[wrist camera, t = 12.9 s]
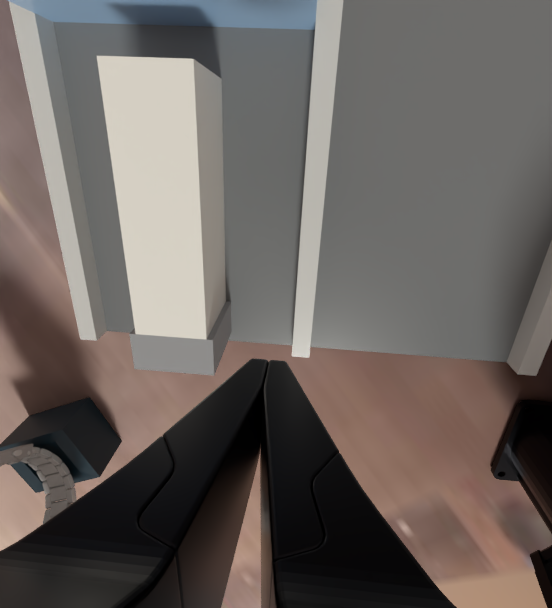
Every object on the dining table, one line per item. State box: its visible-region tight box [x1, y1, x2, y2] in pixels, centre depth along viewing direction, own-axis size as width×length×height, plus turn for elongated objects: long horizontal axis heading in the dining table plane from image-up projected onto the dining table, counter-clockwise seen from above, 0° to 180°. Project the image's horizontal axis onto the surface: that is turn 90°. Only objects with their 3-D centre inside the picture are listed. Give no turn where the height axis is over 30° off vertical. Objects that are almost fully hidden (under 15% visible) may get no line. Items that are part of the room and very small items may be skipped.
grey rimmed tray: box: [7, 0, 552, 376], centre depth 17 cm, size 17×26×4 cm, turn 88°
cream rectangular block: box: [97, 56, 231, 375], centre depth 17 cm, size 13×4×4 cm, turn 178°
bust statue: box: [0, 397, 122, 524], centre depth 22 cm, size 6×8×11 cm
